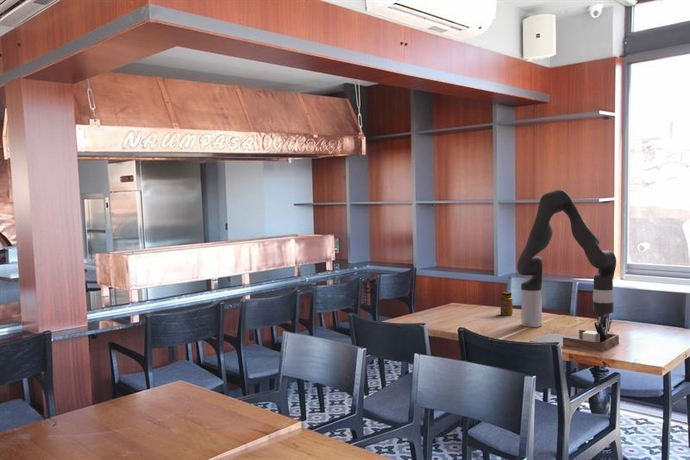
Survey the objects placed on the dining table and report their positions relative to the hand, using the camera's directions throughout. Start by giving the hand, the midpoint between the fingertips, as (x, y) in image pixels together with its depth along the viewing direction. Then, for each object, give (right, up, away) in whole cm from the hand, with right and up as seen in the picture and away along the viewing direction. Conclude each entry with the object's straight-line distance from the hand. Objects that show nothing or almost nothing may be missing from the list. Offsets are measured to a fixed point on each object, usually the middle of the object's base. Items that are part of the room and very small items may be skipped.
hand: (603, 343), depth 235 cm
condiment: (-20, +1, +71) cm, 73 cm away
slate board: (-8, -2, +8) cm, 12 cm away
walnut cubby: (-3, -1, +3) cm, 5 cm away
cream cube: (-3, -1, +3) cm, 5 cm away
